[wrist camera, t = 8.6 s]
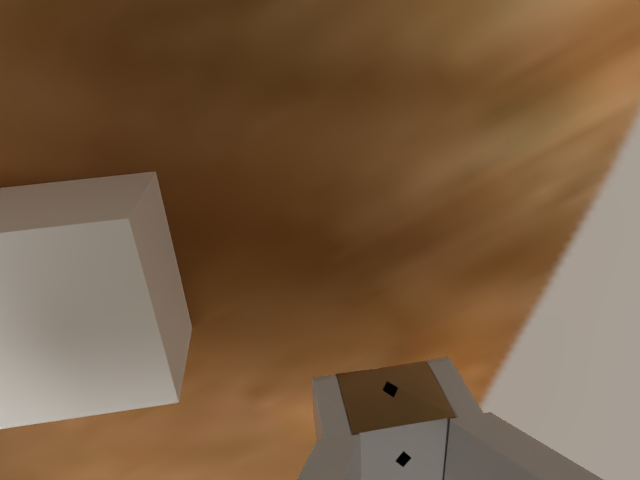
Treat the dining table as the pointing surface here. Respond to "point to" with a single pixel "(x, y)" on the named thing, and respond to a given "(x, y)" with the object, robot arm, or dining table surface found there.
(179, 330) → the offwhite block
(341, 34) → the dining table surface
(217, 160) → the dining table surface
